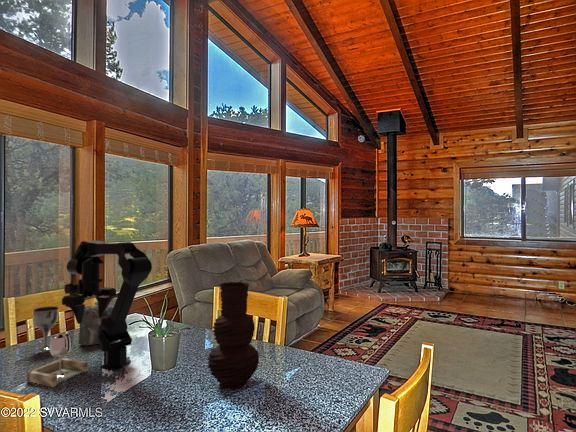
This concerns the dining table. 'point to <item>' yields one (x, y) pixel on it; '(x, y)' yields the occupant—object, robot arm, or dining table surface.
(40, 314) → the wine glass
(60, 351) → the wineglass
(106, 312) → the rock
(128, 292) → the robot arm
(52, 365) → the u rest
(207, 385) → the dining table surface
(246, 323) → the vase
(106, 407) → the dining table surface
